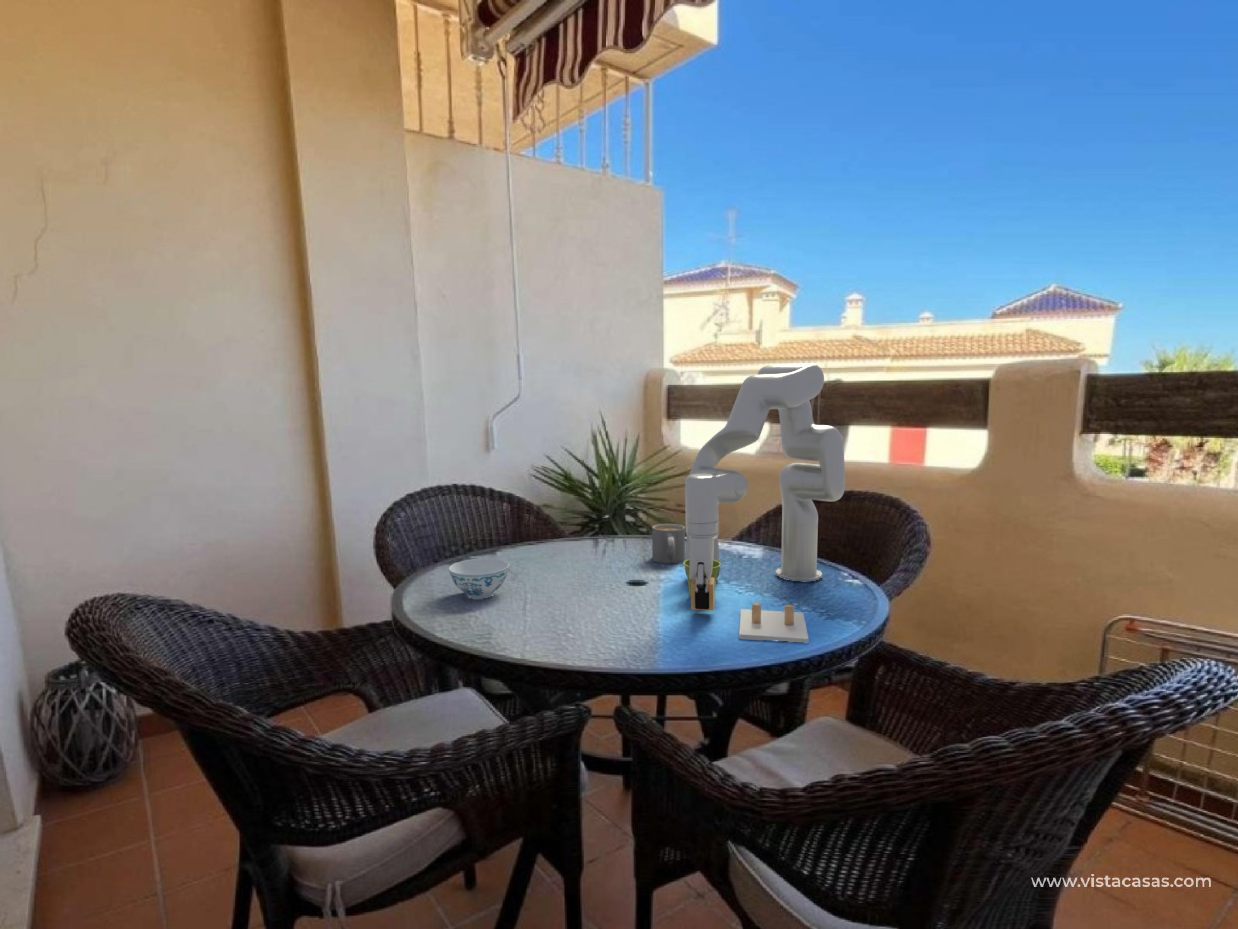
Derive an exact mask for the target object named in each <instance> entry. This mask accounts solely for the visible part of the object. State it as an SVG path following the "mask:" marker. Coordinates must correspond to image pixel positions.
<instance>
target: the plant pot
mask: <svg viewBox="0 0 1238 929" xmlns="http://www.w3.org/2000/svg"><path fill="white" fill-rule="evenodd" d="M682 562H683V566H684V571H685V570H686V572H687V575H686V578H687V585H688V586H687V587H688V595H689V597H690V598H691V582H692V580H691V579H690V578H689V559H688V560H684V561H682ZM721 565H722V563H721V561H720V562H718V561H716V560H713V570H712V575H711V578H715V585H717V579H718V578H717V572H718V571H719V567H720V568H721ZM686 572H685V573H686ZM695 577H696V575H695ZM716 578H717V579H716Z"/></svg>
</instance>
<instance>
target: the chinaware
mask: <svg viewBox="0 0 1238 929" xmlns="http://www.w3.org/2000/svg"><path fill="white" fill-rule="evenodd" d="M448 570H449V576H450V577H451V580H452V582H453V584H454V585H455V586H456V587H457V589H459V590H460V591H461V592H462V593H464V594H466V597H467V596H468V597H470V598H474V599H473V600H482V599H481V598H486V597H489V598H491V597H490V596H492V595H493V594H495V592H496V591H497V590H498V589H499V588H500V587H501V586H502V585H503V584H504V582H505V580H506V578H507V576H508V572H509V570H510V564H509V562H508V561H505V560H503V559H499V558H498V559H497V558H474V559H466V560H462V561H459V562H456V563H453V564H451V565H450V566H449V567H448ZM493 596H494V595H493ZM493 596H492V597H493ZM468 597H467V598H468ZM470 598H469V599H470ZM486 599H487V598H486Z"/></svg>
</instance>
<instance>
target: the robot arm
mask: <svg viewBox="0 0 1238 929" xmlns="http://www.w3.org/2000/svg"><path fill="white" fill-rule="evenodd" d="M824 383H825V375H824V372H823V370H822V368H821V367H820V366H819V365H817V364H815V363H811V362H810V363H805V362H804V363H777V364H775V363H774V364H769V365H766V366H763V367H761V368H760V369H759V370H758V372H757V374H753V375H750V376H748V377H747V378H745V379H744V380H743V382H742V384H741V386H740V389H739V391H738V394H737V396H736V399H735V402H734V404H733V407H732V409H731V411H730V413H729V416H728V419H727V421H726V424H725V426H724V427H723V428H722V429H721V430H719V431H718V432H717V433H715V434H714V435H713V436H712V437H711V438H710V439H709V440H708V441H707V442H706V443H705V444H703V446H702V447H701V448H700V450H699V451H698V453H697V454H696V457H695V459H694V462H693V463H692V466H691V470H690V473H689V475H687V477H686V478H685V481H684V498H685V499H684V501H685V503H684V504H685V507H684V508H685V535H686V537H687V536H690V549H689V578H690V579H691V580H692V579H694V578H695V575H696V591H695V608H696V609H709V592H708V580H709V579H710V578H711V575H712V570H713V559H714V537H715V536H718V537H719V535H720V521H719V519H720V516H719V512H720V511H719V510H720V509H719V508H720V507H719V505H720V504H731V503H732V504H733V503H737V502H739V501H740V500H742V499H743V498H744V497H745V496H746V495H747V493H748V490H749V489H748V488H749V482H748V479H747V478H746V476H745V475H744V474H743V473H741V472H739V471H738V470H737V471H736V470H732V469H723V468H722V469H721V468H716V467H717V466H718V464H719V462H720V461H722V460H723V459H724V458H725V457H726V456H727V455H730V454H731V453H733V452H735V451H738V450H740V449H743V448H746V447H748V446H751V445H752V444H755V443H756V442H758V440H759V439H760V437H761V434H762V431H763V429H764V426H765V423H766V420H767V417H768V415H769V413H770V411H771V410H777V411H778V415H779V416H778V417H779V425H780V426H779V427H780V438H781V446H782V452H783V454H784V455H785V456H786V458H788V459H792V460H801V461H811V462H818V463H819V464H815V463H805V462H793V463H791V462H790V463H788V464H787V465H784V467H783V468H781V470H780V473H779V477H778V483H779V485H778V486H779V490H780V497H781V508H782V509H781V510H782V511H781V512H782V513H781V516H782V517H781V558H780V560H781V561H780V562H781V565H780V566H781V567H778V568H777V569H776V570H775V573H776V574H775V576H776V575H777V576H779V577H780V578H779V579H781V578H785V579H789V580H794V581H813V580H817V579H819V578H822V579H823V572H822V571H821V570H819V569H817V567H818V566H817V565H818V533H819V532H818V529H819V525H818V524H819V513H818V510H817V507H816V506H815V503H814V501H820V502H821V501H822V502H837V501H838V500H840V499H841V498H842V497H843V495H844V494H845V490H846V467H845V451H844V450H845V448H844V440H843V436H842V434H841V432H840V431H839V430H838V429H837V428H836V427H835V426H832V425H826V424H815V422H814V418H813V410H812V405H811V402H810V400H812V399H814V398H816V397H817V396H818V395H819V394H820V393H821V391H822V390H823V388H824ZM777 576H776V577H777ZM704 577H706V579H704ZM703 581H705V583H704V582H703Z"/></svg>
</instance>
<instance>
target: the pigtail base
mask: <svg viewBox="0 0 1238 929" xmlns="http://www.w3.org/2000/svg"><path fill="white" fill-rule="evenodd" d="M739 620H740V621H739V630H738V632H739V633H738V634H739V635H738V639H739V640H751V641H752V640H753V641H763V640H778V641H788V642H787V643H793V642H808V643H809V634H808V630H807V624H806V619H805V615H804V612H801V611H800V612H799V611H798V612H797V611H795V606H794V605H792V604H786V605H784V611H781V610H780V611H779V610H764V609H762V604H761V603H759V602H753V603H751V609H746V608H741V609H740V619H739ZM778 641H777V642H778Z"/></svg>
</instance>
